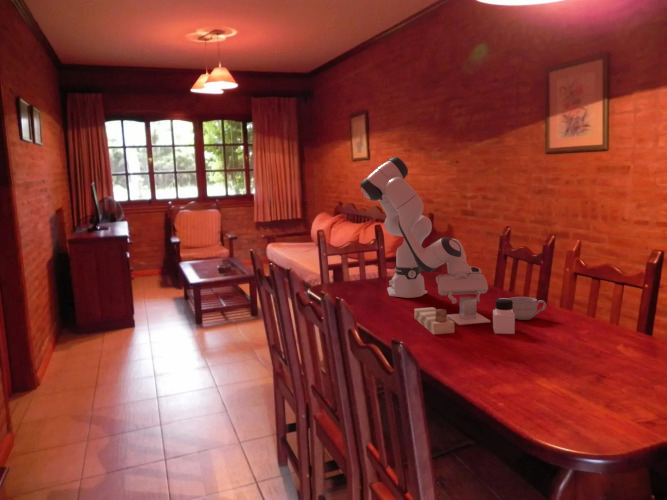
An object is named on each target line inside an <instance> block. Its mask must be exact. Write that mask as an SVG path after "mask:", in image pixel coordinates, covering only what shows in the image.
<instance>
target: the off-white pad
mask: <svg viewBox="0 0 667 500" xmlns="http://www.w3.org/2000/svg"><path fill="white" fill-rule="evenodd" d="M446 317H448V318H449V319H450V320H452V321H453V322H454V323H456V324H457V325H459V326H463V325H472V324H473V325H474V324H484V323H491V320H490V319H488V318H487V317H485V316H483V315H482V314H480V313H478V312H477V311H476V319H470V320H464V319H462V318H461V317H460V313H451V314H446Z"/></svg>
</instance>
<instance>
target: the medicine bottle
mask: <svg viewBox="0 0 667 500" xmlns="http://www.w3.org/2000/svg"><path fill="white" fill-rule="evenodd" d="M494 302H495V306H494V307H495V308H494V309H493V310H492V328H493V333H494V334H501V335H502V334H503V335H504V334H505V335H515V333H516V319H515V314H514V312H513V301H512V300H510V299H509V298H504V297H503V298H498V299H495V301H494Z"/></svg>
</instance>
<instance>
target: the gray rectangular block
mask: <svg viewBox="0 0 667 500" xmlns="http://www.w3.org/2000/svg"><path fill="white" fill-rule="evenodd" d="M476 312H477V302H476V299H475V297H473V296H471V295H470V296H460V297H459V314H460V317H461V318H462V319H464V320H470V319H476Z"/></svg>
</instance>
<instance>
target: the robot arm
mask: <svg viewBox="0 0 667 500" xmlns="http://www.w3.org/2000/svg"><path fill="white" fill-rule="evenodd" d="M408 173H409V169H408V167H407V164H406V162H404V160H402V159H401V158H400V157H397V156H394V157H391V158H389V159H387V161H385V162H384V163H382V164H380V165H379V166H377V168H375V169H374V170H373V171H372V172H371V173H370V174H369V175H367V177H366V178H364V179H363V180H362V181H361V183H360V185H359V186H360V191H361V193H362V195H363V196H364V198H366V199H368V200H370V201H373V202H375V201H378V203H379V204H380V206H381V208H382V209H383V211H384V213H385V216H386V218H385V219H384V222H383V225H384V226H383V227H384V230H385V232H386V233H388V234H389V235H391V236H395V237H403V241H402V244H401V245H399V246H398V247H397V249H396V252H395V253H396V254H395V255H396V258H395V259H396V265H395V268H394V272H395V273H394V275H393V276H392V278H391V280H388V283H389V284H388V285H389V287H387V288H386V289H387V292H388V295H389V297H396V298H397V297H399V298H404V299H405V298H406V299H410V298H411V299H412V298H419V297H422V296H424V295H426V294H428V291H427V290H425V289H426V288H425V280H424V279H425V277H424V275H422V274H421V273H422V271H423V272H425V273H432V272H433V271H434V270H436V269H438V267H441V266H442V265H444V264H446V266H447V269H446V270H447V274H446V273H445V274H437V276H436V277H435V282H436V284H437V291H438V295H440V296H447V297H448V298H449V300H451V304H457V302H458V300H457V298H456V297H454V296H455V295H458V296H459V295H475V297H474V298H475V299H476V303H480V302H481V299H480V296H481V294H486V293H487V292H488V291H489V284H488V282H487V279H486V277H485V275H484V274H482V269H481V268H480V267H476V266H471V265H469V264H468V262H467V255H466V252H465V249H464V246H463V245H462V243H461V241H460V240H459V239H457V238H451V237H450V238H449V237H441V238H440V239H439V238H438V239H437V240H436V241H434V242H433V243H432V244H430V245H428V246H427V247H423V246H422V245H423V242H424V240H425V239H426V238H427V237H429V235H430V233H431V232H432V230H433V229H432V228H433V224H432V221H431V219H430V218H429V217H428V216H425V215H423V212H424V207H425V206H424V202H423V200H422V198H421V197H420V195H419V194H418V193H417V191H416V190H415V189H414V188H413V186H412V185H410V184H409V183H408V182H407V181H406V180H405V178H406V177H407V176H408Z"/></svg>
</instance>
